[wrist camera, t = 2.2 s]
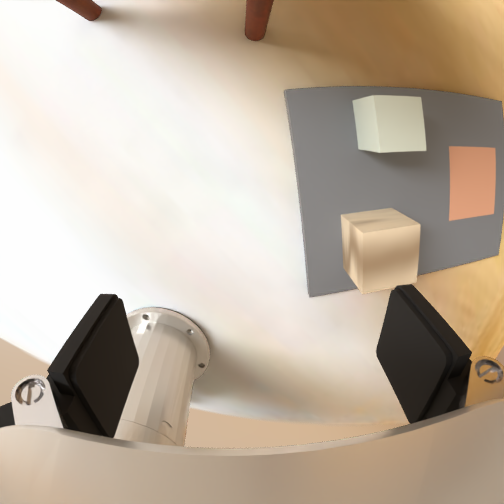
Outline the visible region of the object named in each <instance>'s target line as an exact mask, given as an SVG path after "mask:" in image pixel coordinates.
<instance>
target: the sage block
mask: <svg viewBox="0 0 504 504" xmlns="http://www.w3.org/2000/svg"><path fill="white" fill-rule="evenodd" d="M352 102H353V109H354V116H355V123H356V132H357V140H358V149H360V150H366V151H372V152H378V153H385V152H406V151H426V138H425V126H424V117H423V109H422V101H421V97H413V96H392V95H372V96H368V97H364V98H360V99H356V100H353V101H352Z"/></svg>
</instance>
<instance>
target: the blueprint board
mask: <svg viewBox="0 0 504 504" xmlns="http://www.w3.org/2000/svg"><path fill="white" fill-rule="evenodd" d="M284 95H285V101H286V107H287V114H288V120H289V127H290V133H291V140H292V147H293V155H294V162H295V170H296V178H297V186H298V194H299V203H300V212H301V221H302V231H303V241H304V251H305V262H306V274H307V287H308V294H309V297H315V296H320V295H326V294H331V293H337V292H342V291H347V290H352V289H357V286H356V285H355V283H354V282H353V280H352V279H351V278H350V276H349V275H348V274H347V272H346V271H345V269H344V268H343V247H342V227H341V215H342V214H349V213H356V212H364V211H371V210H379V209H386V208H393V209H395V210H397V211H398V212H400V213H402V214H404V215H405V216H407V217H409V218H411V219H412V220H414V221H416V222H418V223H419V224H420V245H419V260H418V271H417V276H418V275H422V274H426V273H430V272H435V271H439V270H443V269H447V268H451V267H455V266H459V265H463V264H466V263H470V262H474V261H478V260H481V259H485V258H489V257H492V256H496V255H498V254H499V247H500V241H501V233H502V224H503V214H504V119H503V109H502V101H497V100H493V99H488V98H483V97H477V96H471V95H465V94H459V93H452V92H444V91H436V90H426V89H415V88H400V87H377V86H339V87H315V88H300V89H288V90H285V91H284ZM372 95H392V96H413V97H421V101H422V109H423V117H424V126H425V138H426V151H406V152H385V153H378V152H372V151H366V150H360V149H358V140H357V132H356V123H355V116H354V109H353V102H352V101H353V100H356V99H360V98H364V97H368V96H372Z"/></svg>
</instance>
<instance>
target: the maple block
mask: <svg viewBox="0 0 504 504" xmlns="http://www.w3.org/2000/svg"><path fill="white" fill-rule="evenodd" d="M341 227H342V247H343V268H344V269H345V271H346V272H347V274H348V275H349V276H350V278H351V279H352V280H353V282H354V283H355V285H356V286H357V288H358V289H359V290H360V292H361V293H362V294H367V293H372V292H377V291H381V290H386V289H390V288H395V287H396V286H397V285H407V284H412V283H416V281H417V271H418V260H419V245H420V224H419V223H418V222H416V221H414V220H412V219H411V218H409V217H407V216H405V215H404V214H402V213H400V212H398V211H397V210H395V209H393V208H386V209H379V210H371V211H364V212H356V213H349V214H342V215H341Z"/></svg>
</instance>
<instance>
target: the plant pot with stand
mask: <svg viewBox="0 0 504 504" xmlns="http://www.w3.org/2000/svg"><path fill="white" fill-rule="evenodd" d="M56 1H58V2H60V3H61V4H63V5H65V6H66V7H68V8H70V9H71V10H73V11H74V12H76V13H78V14H79V15H81V16H82V17H84V18H85V19H87V20H89V21H92V20H95V19H97V18H98V17H99V16H100V14H101V11H102V9H101V7H100V6H98V5H97V4H96V3H95V2H93V1H92V0H56ZM273 1H274V0H247V4H246V21H245V35H246V37H247V38H248V39H250V40H253V41H258V40H261V39H262V38H263V37H264V35H265V31H266V27H267V23H268V20H269V16H270V12H271V8H272V5H273Z"/></svg>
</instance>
